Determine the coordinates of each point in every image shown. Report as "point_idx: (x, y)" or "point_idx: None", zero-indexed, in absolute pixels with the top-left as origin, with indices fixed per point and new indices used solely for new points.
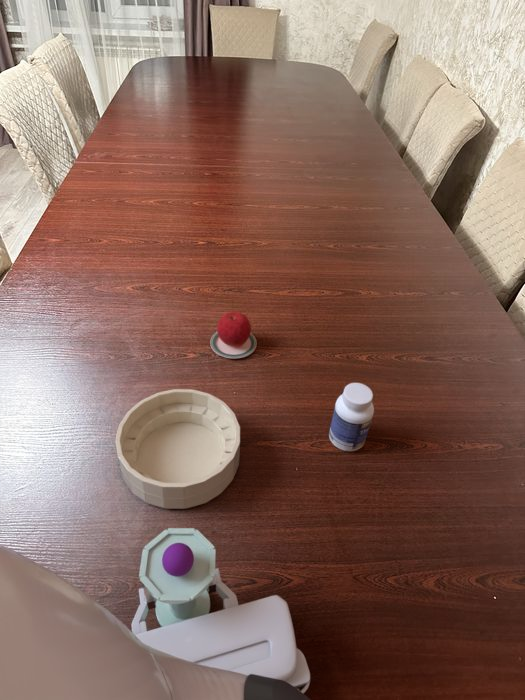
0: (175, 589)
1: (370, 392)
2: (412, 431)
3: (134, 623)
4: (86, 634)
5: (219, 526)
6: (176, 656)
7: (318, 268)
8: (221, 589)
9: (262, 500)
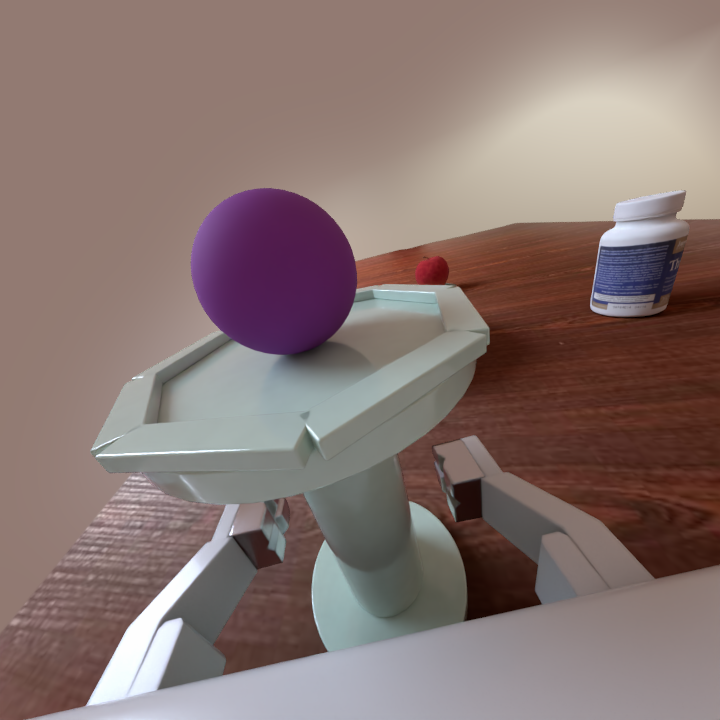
0: (247, 411)
1: (673, 191)
2: None
3: (140, 625)
4: None
5: (451, 415)
6: None
7: (499, 255)
8: (511, 495)
9: (520, 378)
